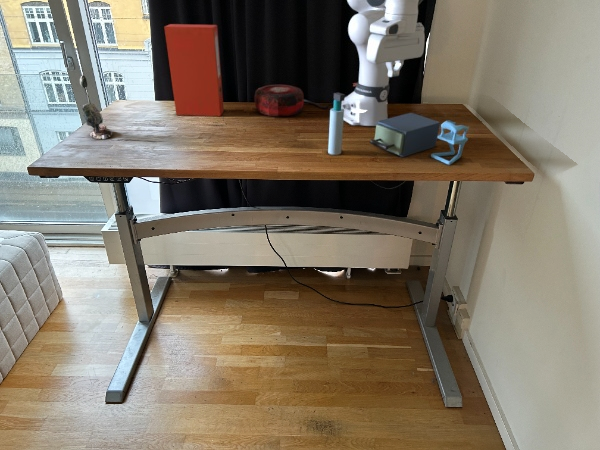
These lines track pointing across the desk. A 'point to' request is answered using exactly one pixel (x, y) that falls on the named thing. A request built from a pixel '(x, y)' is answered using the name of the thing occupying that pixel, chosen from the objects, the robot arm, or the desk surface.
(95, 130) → the plant with pod
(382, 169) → the desk surface
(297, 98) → the red flat cylinder
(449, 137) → the chair
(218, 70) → the file binder
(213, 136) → the desk surface
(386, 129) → the drawer
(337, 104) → the spray bottle
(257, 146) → the desk surface
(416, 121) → the cabinet
